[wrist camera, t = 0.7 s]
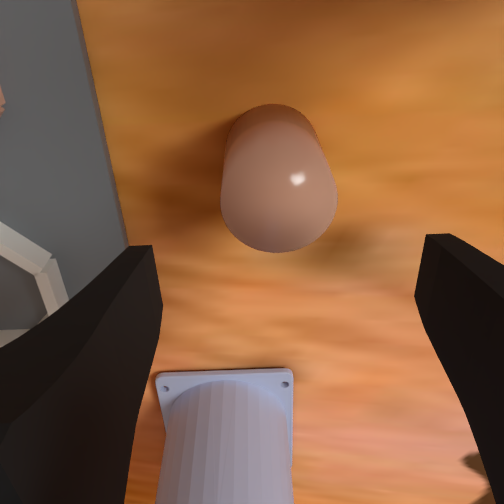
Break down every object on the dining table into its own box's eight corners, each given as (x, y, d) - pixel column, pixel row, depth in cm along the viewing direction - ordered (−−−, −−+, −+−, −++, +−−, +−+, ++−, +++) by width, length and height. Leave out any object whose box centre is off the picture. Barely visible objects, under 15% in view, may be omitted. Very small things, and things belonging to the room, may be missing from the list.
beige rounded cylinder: (316, 191, 21) (334, 250, 17) (228, 194, 21) (224, 254, 17) (319, 101, 19) (341, 144, 15) (222, 106, 19) (215, 149, 15)
